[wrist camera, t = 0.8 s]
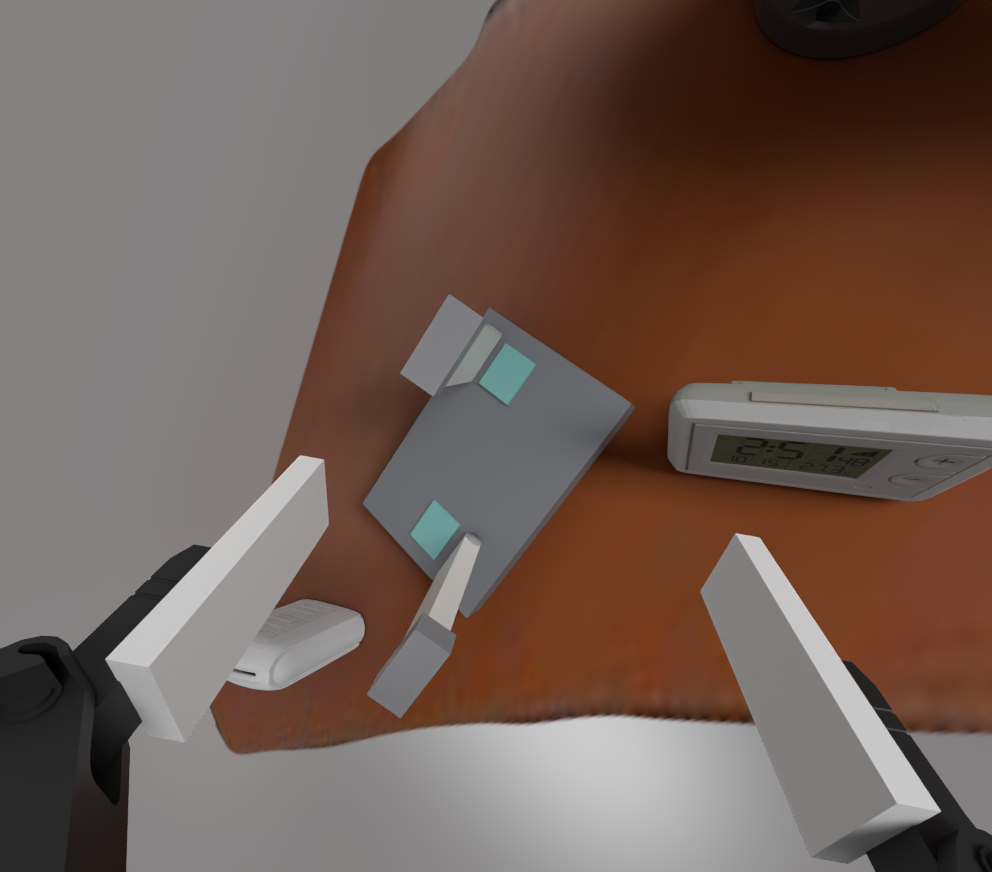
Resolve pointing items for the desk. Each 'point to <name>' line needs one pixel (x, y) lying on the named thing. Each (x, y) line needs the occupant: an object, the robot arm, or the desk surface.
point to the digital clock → (831, 437)
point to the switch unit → (495, 459)
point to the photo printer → (297, 644)
